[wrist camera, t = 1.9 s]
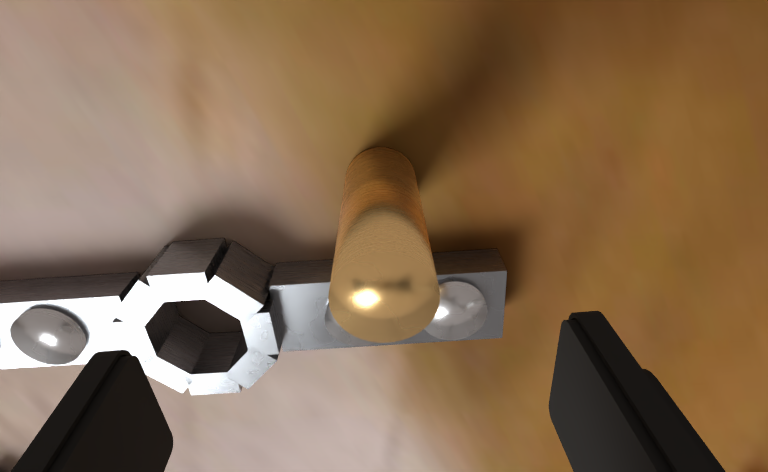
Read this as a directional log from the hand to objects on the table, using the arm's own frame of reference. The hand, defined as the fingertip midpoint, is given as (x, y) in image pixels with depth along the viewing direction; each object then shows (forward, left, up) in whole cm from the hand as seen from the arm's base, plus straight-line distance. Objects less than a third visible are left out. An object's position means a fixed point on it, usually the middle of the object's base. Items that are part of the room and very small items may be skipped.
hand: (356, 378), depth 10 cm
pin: (-1, 0, -12) cm, 12 cm away
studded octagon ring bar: (+8, +6, -12) cm, 16 cm away
